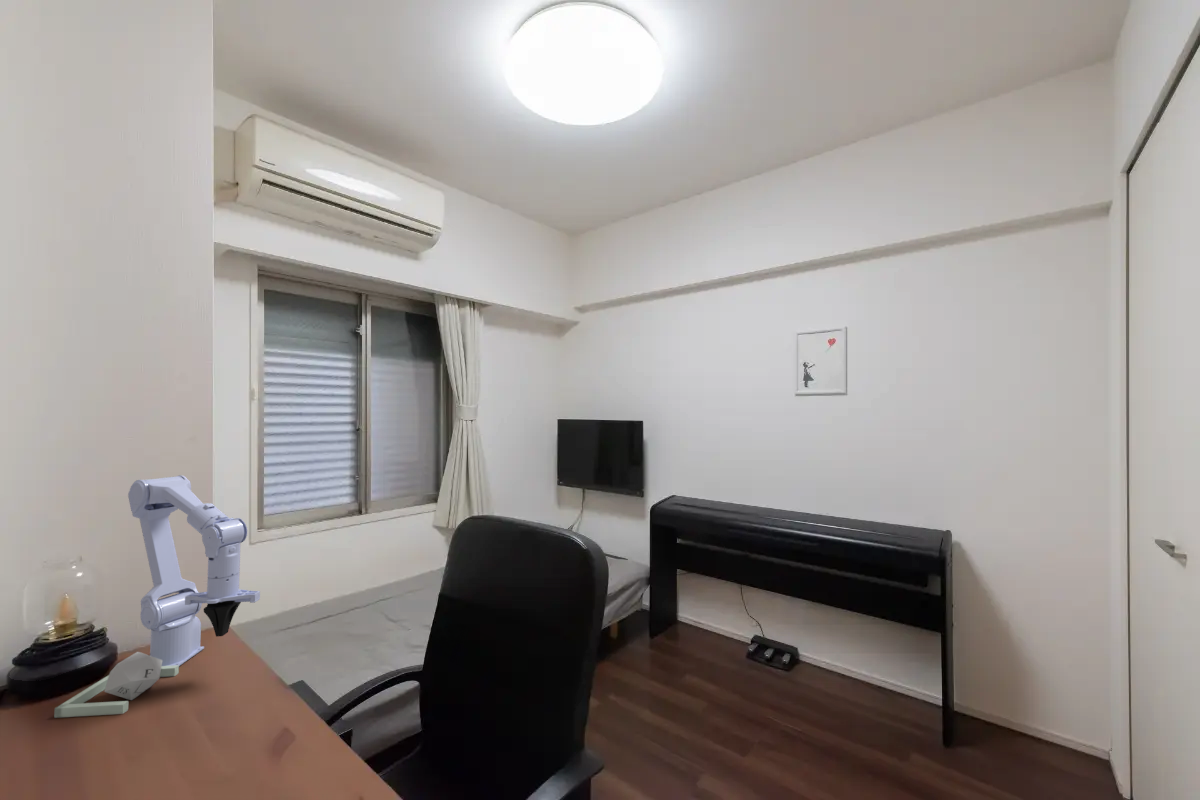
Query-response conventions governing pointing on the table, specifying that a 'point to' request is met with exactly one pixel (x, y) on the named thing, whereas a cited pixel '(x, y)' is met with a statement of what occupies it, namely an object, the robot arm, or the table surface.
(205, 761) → the table surface
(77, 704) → the bay
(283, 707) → the table surface
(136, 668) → the die
